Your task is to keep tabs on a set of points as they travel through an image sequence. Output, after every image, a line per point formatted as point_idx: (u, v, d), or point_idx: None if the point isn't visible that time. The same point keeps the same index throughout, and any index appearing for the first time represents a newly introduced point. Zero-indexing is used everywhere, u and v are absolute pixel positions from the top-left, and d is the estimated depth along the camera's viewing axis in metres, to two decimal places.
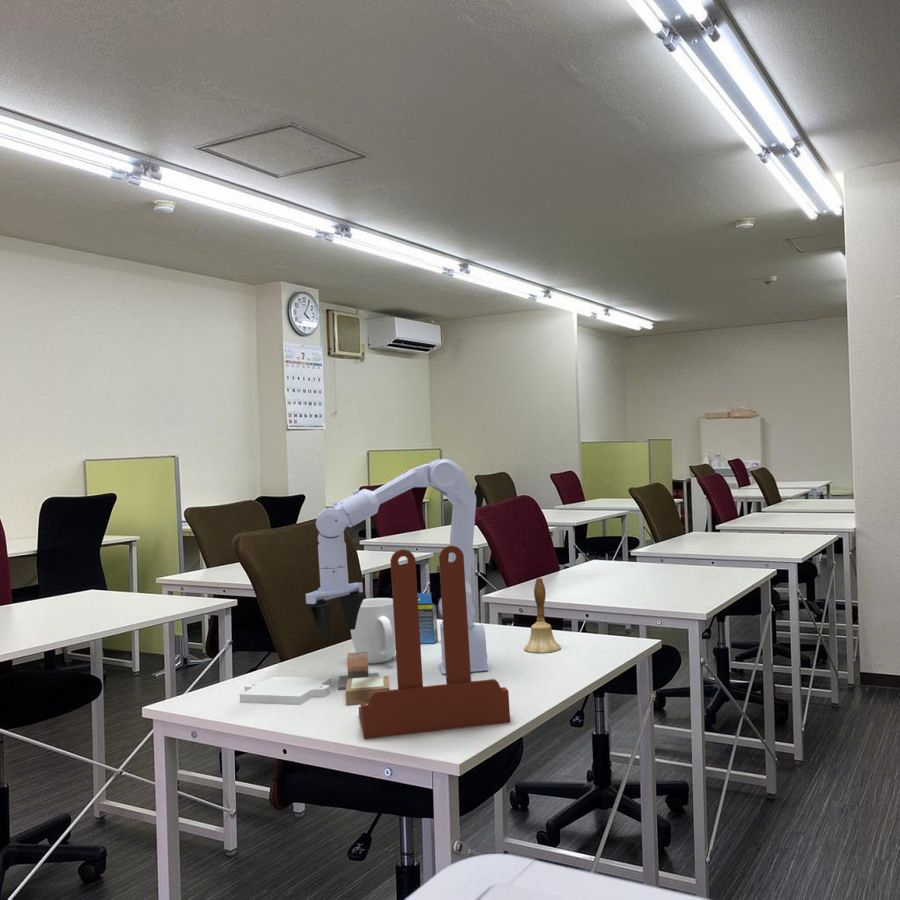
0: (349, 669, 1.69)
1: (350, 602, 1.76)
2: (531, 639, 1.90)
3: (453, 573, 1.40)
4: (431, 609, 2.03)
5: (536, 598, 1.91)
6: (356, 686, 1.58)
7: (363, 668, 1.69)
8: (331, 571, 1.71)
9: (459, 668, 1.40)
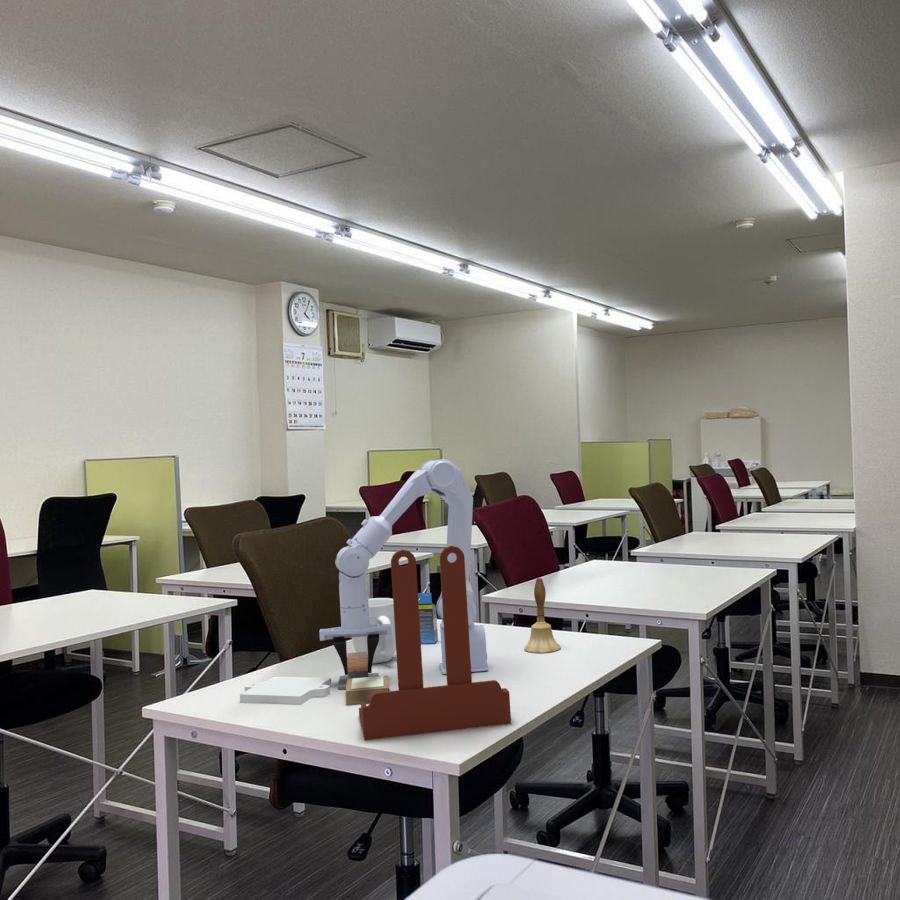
0: (349, 669, 1.69)
1: None
2: (531, 639, 1.90)
3: (454, 573, 1.39)
4: (431, 609, 2.03)
5: (536, 598, 1.91)
6: (356, 686, 1.58)
7: (363, 668, 1.69)
8: (343, 610, 1.70)
9: (459, 669, 1.39)
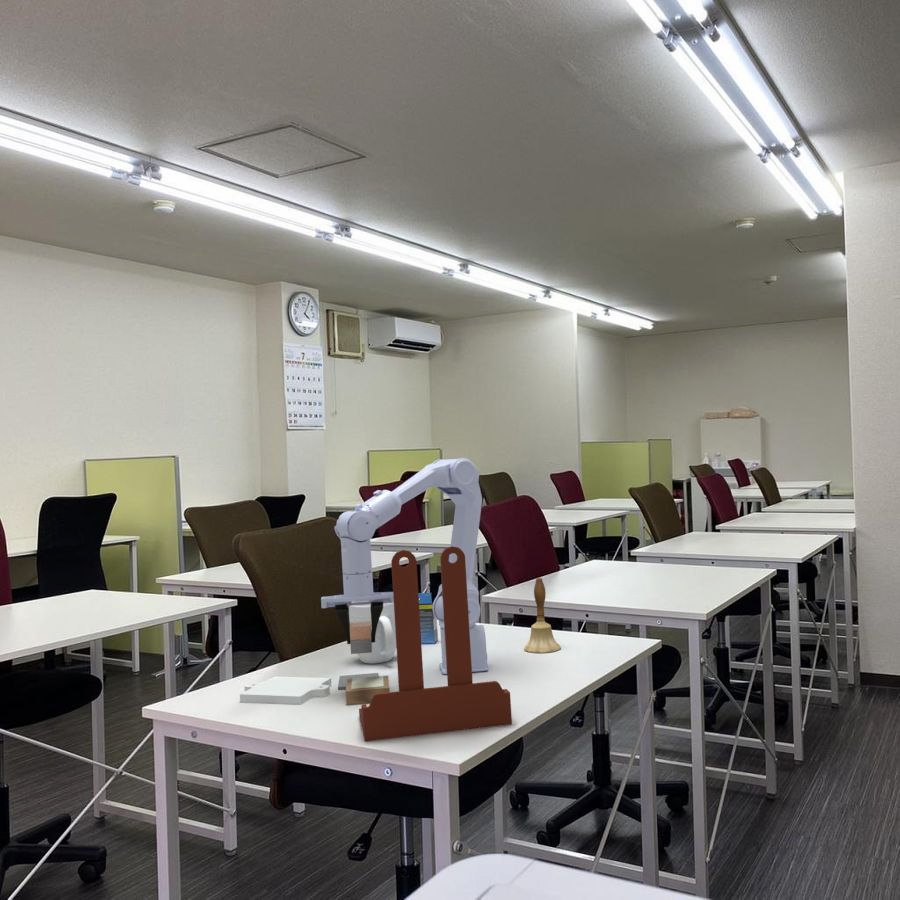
0: (352, 638, 1.63)
1: None
2: (531, 639, 1.90)
3: (455, 574, 1.39)
4: (431, 609, 2.03)
5: (536, 598, 1.91)
6: (356, 686, 1.58)
7: (366, 637, 1.63)
8: (345, 577, 1.63)
9: (460, 670, 1.39)
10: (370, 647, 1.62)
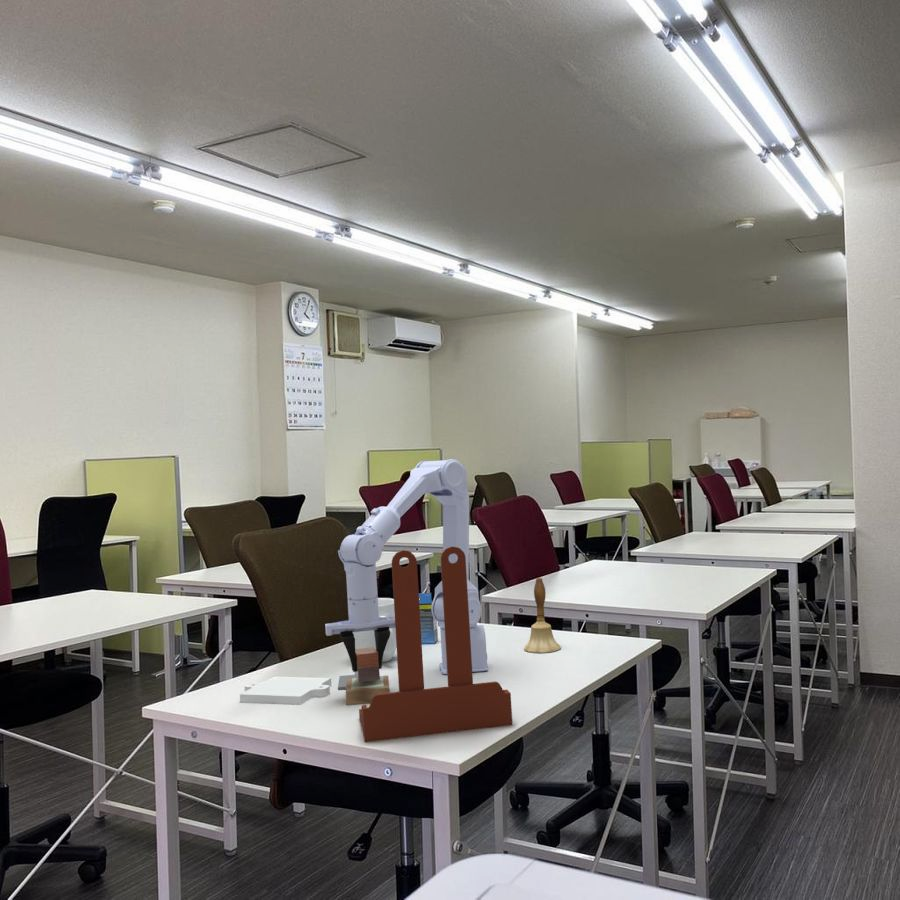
0: (359, 666, 1.58)
1: (376, 638, 1.61)
2: (531, 639, 1.90)
3: (455, 574, 1.38)
4: None
5: (536, 598, 1.91)
6: (356, 686, 1.58)
7: (374, 664, 1.59)
8: (352, 603, 1.59)
9: (460, 670, 1.38)
10: (378, 674, 1.59)
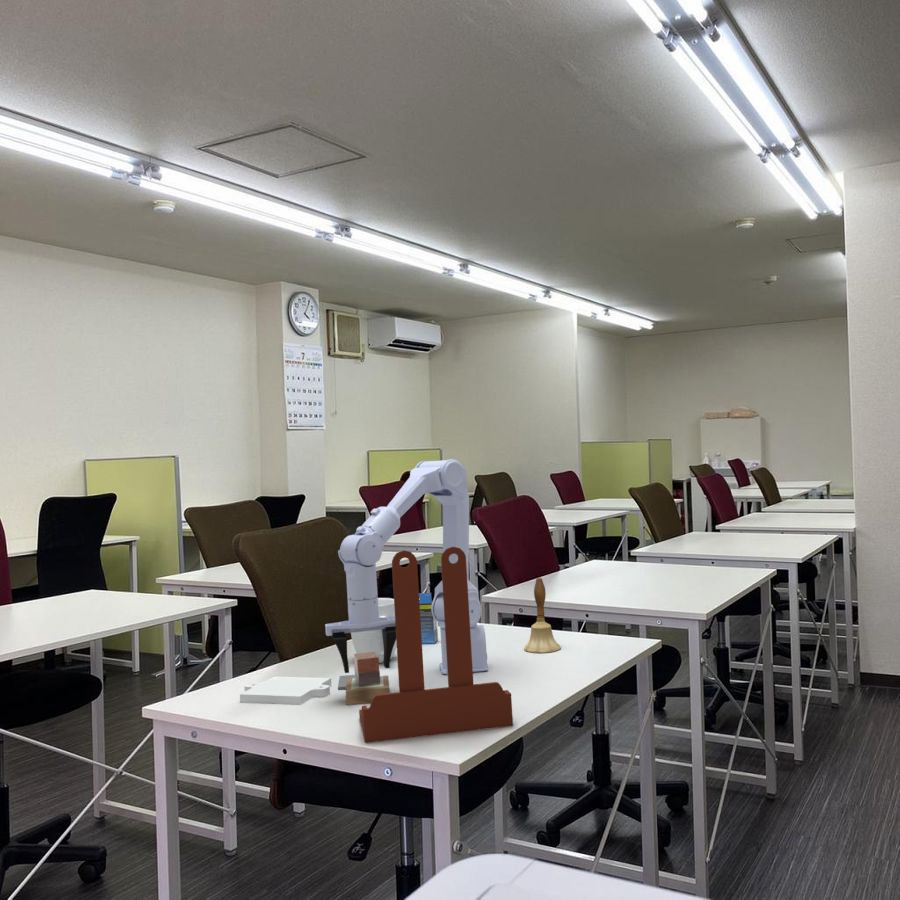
0: (359, 670, 1.58)
1: (384, 638, 1.61)
2: (531, 639, 1.90)
3: (456, 574, 1.38)
4: None
5: (536, 598, 1.91)
6: (356, 686, 1.58)
7: (374, 669, 1.59)
8: (352, 603, 1.59)
9: (461, 671, 1.38)
10: (378, 679, 1.59)
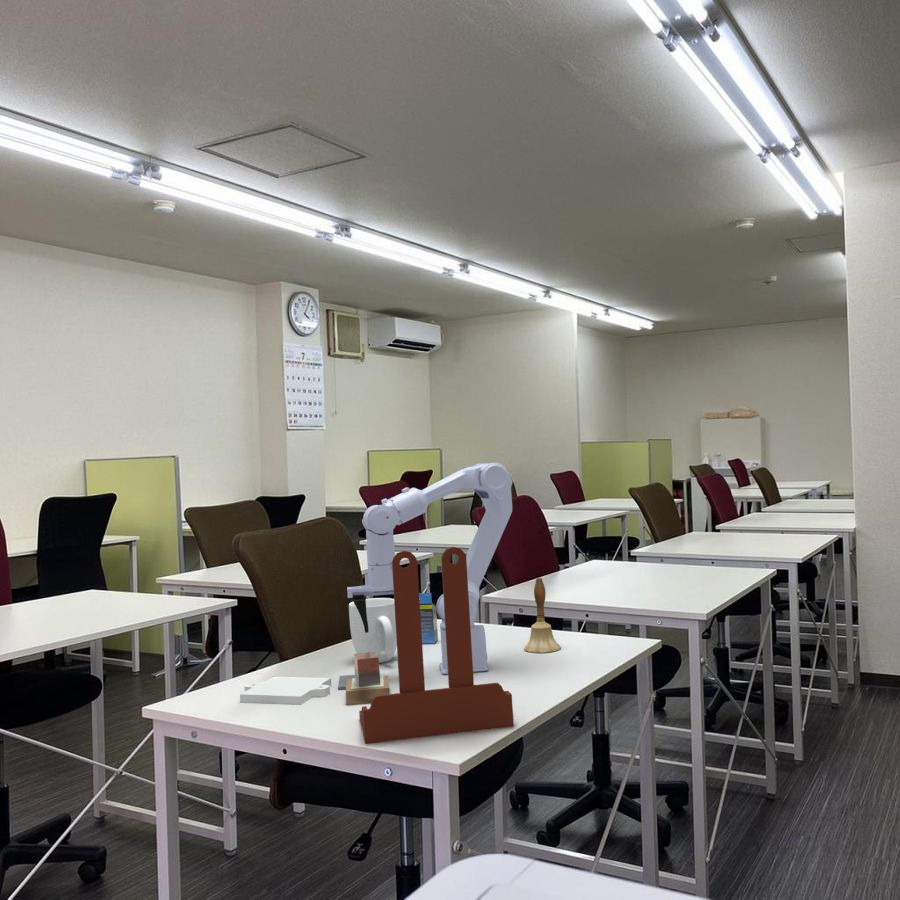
0: (359, 670, 1.58)
1: None
2: (531, 639, 1.90)
3: (456, 574, 1.38)
4: (431, 609, 2.03)
5: (536, 598, 1.91)
6: (356, 686, 1.58)
7: (374, 669, 1.59)
8: (370, 568, 1.71)
9: (461, 671, 1.37)
10: (378, 679, 1.59)
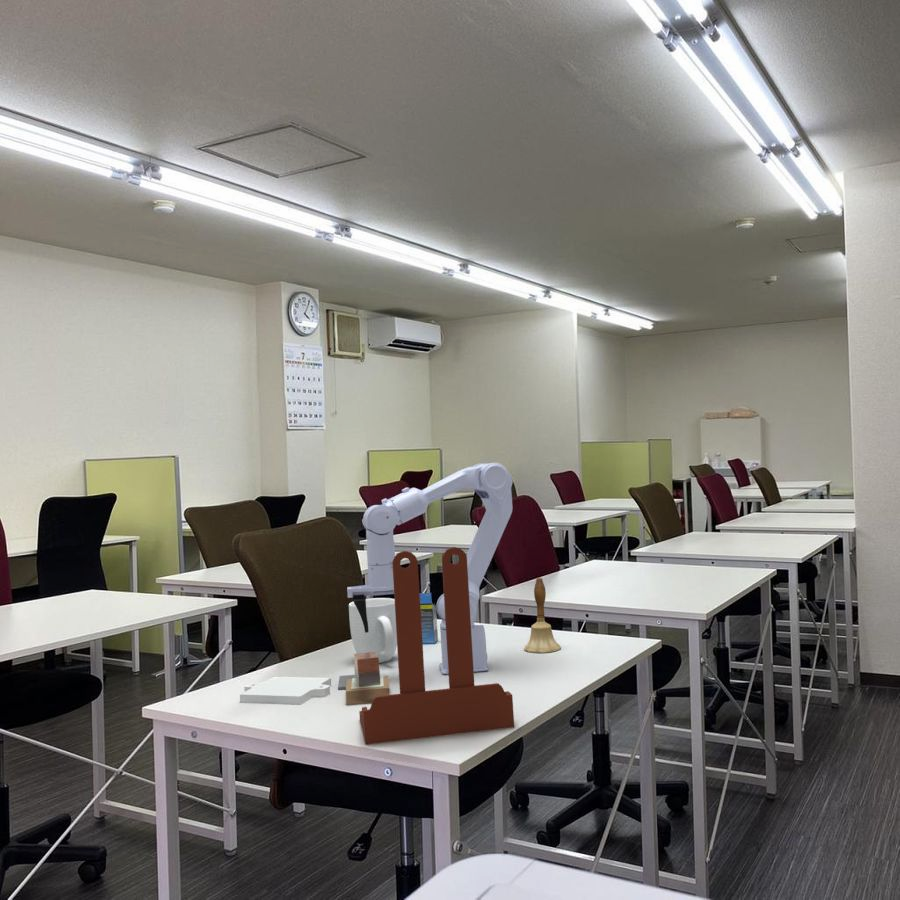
0: (359, 670, 1.58)
1: None
2: (531, 639, 1.90)
3: (456, 575, 1.37)
4: (431, 609, 2.03)
5: (536, 598, 1.91)
6: (356, 686, 1.58)
7: (374, 669, 1.59)
8: (370, 568, 1.71)
9: (462, 672, 1.37)
10: (378, 679, 1.59)
